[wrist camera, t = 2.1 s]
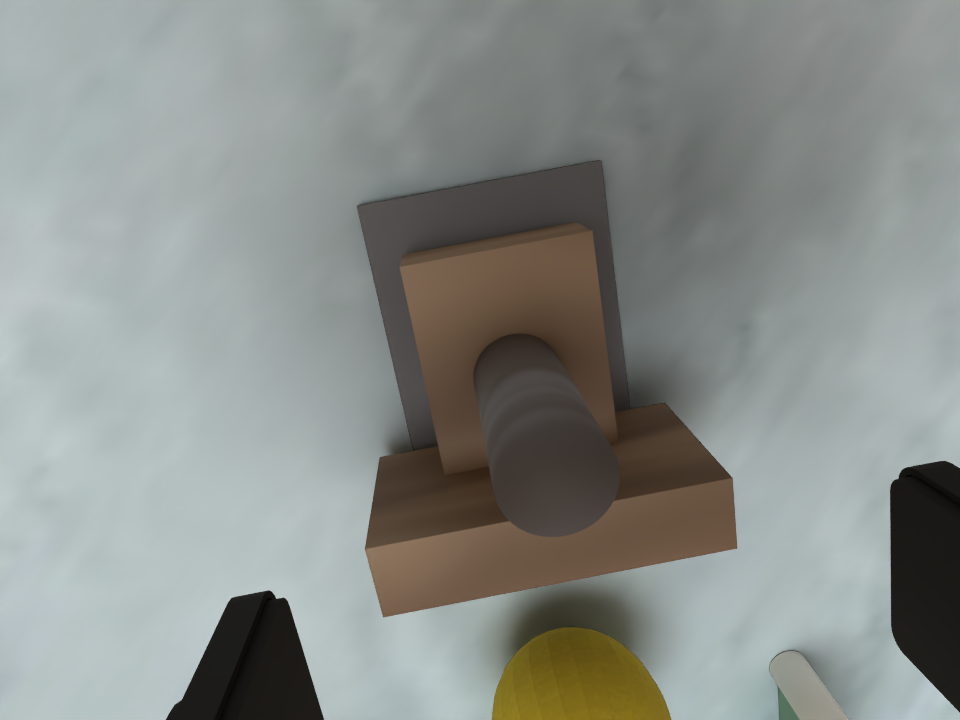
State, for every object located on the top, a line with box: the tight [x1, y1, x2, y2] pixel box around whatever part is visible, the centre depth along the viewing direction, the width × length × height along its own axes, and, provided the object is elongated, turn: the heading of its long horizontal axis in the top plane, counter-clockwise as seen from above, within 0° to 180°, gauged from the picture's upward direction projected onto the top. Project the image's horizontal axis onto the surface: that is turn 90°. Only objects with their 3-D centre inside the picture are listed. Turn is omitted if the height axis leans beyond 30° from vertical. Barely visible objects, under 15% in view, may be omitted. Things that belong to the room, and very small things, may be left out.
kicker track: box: [357, 160, 630, 451], centre depth 21 cm, size 13×7×1 cm, turn 10°
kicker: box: [365, 222, 737, 617], centre depth 17 cm, size 8×9×8 cm
